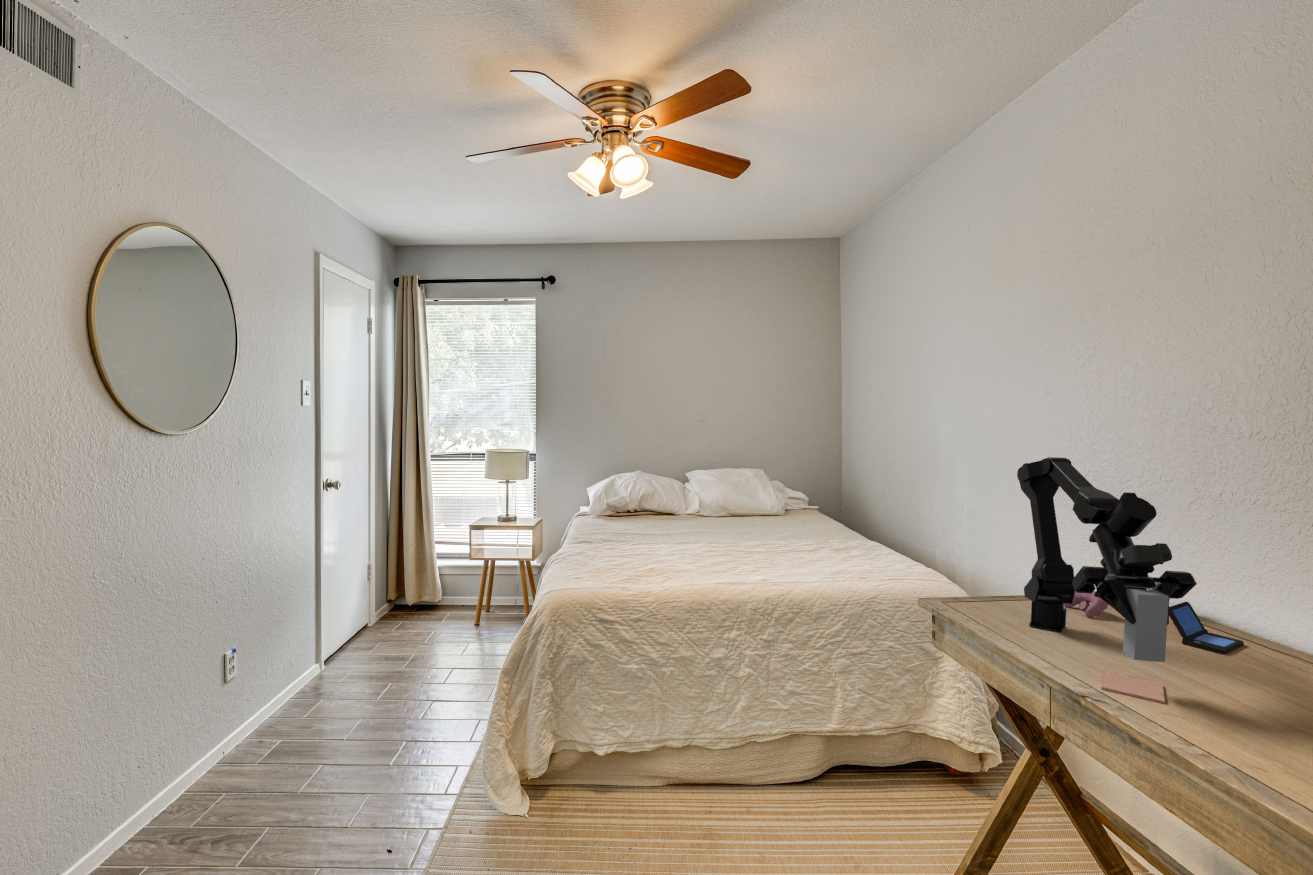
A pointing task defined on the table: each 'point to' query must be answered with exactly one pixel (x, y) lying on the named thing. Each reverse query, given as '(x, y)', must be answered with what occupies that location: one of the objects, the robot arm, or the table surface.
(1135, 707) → the table surface
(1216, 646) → the handheld game console
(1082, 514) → the robot arm
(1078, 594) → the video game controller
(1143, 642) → the grey rectangular pillar
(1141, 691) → the terracotta pad
